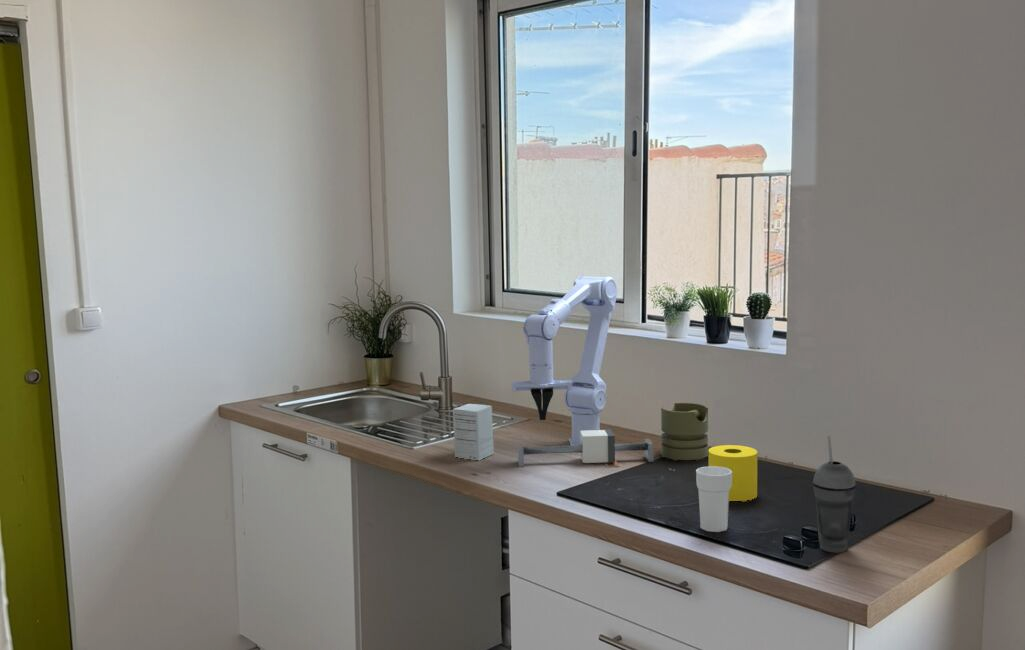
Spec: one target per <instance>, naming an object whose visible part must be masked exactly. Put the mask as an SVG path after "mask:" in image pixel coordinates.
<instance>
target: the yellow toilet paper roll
mask: <svg viewBox="0 0 1025 650" xmlns="http://www.w3.org/2000/svg"><path fill="white" fill-rule="evenodd" d="M708 466H717V467H724V468H728V469H730V470H731V471H732V485H731V488H730V489H729V502H730V501H742V502H748V501H747V500H749V501H752V499H753V500H754V498H755V499H757V497H758V450H757V449H755V448H753V447H750V446H745V445H739V444H738V445H736V444H735V445H734V444H724V445H716V446H712V447H710V448H708Z"/></svg>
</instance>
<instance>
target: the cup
mask: <svg viewBox="0 0 1025 650" xmlns="http://www.w3.org/2000/svg"><path fill="white" fill-rule="evenodd" d="M695 475H696V476H695V477H696V487H697V490H698V504H699V506H698V508H699V521H700V529H701V530H703V531H706V532H710V533H711V532H713V533H715V532H716V533H720V532H724V531H728V524H729V522H728V520H729V506H730V505H729V504H730V501H729V489H730V488H731V485H732V471H731V470H730V469H728V468H724V467H717V466H709V465H708V466H702V467H698V468H697V469H695Z"/></svg>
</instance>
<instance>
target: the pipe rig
mask: <svg viewBox="0 0 1025 650" xmlns="http://www.w3.org/2000/svg"><path fill="white" fill-rule="evenodd" d="M635 451H639V452H640V451H644V458H645V460H646V461H647V462H648V463H653V462H654V442H653V441H652V440H651V439H650V438H644V442H636V443H635V442H633V443H615V452H635ZM581 453H582V445H572V446H571V445H551V446H549V445H548V446H524V444H523V442H520V443H519V442H518V443H517V462H518V463H517V464H518V467H519V468H523V467H525V459H524V457H525V455H526V456H527V455H551V454H552V455H554V454H581ZM603 463H604V465H605V467H606V468H617V467H619V468H620V465H619V462H618V461H617V459H616V458H615V462H610V463H608V462H603Z"/></svg>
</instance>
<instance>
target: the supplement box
mask: <svg viewBox="0 0 1025 650" xmlns="http://www.w3.org/2000/svg"><path fill="white" fill-rule="evenodd" d="M452 415H453V417H452V419H453V438H454V439H453V440H454V441H453V443H454V445H453V447H454V457H458V458H457V459H460V458H464V459H463V460H467V459H471V460H470V461H475V460H478V461H477V462H479V461H481V460H483V458H484V459H485V458H488V457H490V456H493V455H494V452H495V451H494V432H493V431H494V430H493V429H494V427H493V426H494V425H493V406H492V405H488V404H477V403H476V404H475V403H467V404H464V405H461V406H458V407H454V408H452Z"/></svg>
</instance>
